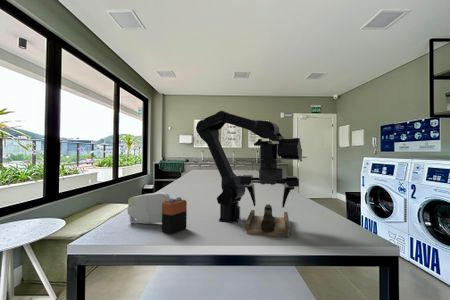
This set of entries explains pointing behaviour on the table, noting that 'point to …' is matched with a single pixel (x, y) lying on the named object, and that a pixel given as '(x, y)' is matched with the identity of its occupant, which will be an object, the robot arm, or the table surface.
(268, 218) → the hand tool
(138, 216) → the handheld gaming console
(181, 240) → the table surface
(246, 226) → the tool cradle
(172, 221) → the battery
